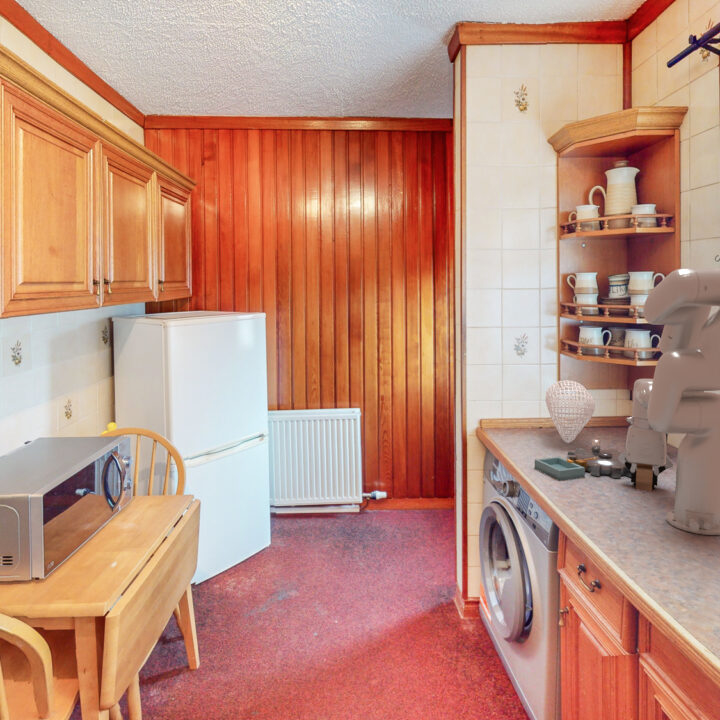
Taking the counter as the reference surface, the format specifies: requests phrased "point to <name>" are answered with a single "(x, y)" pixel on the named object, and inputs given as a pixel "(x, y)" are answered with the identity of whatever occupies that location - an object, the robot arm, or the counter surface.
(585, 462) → the sprocket
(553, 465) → the green rectangular tray
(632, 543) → the counter surface
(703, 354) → the robot arm
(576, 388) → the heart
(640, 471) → the link block
